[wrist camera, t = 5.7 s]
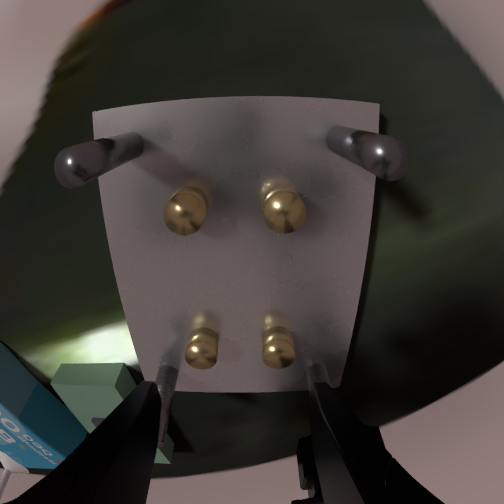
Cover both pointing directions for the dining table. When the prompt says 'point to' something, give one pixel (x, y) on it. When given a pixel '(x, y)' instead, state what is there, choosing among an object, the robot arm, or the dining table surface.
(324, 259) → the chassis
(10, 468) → the champagne flute
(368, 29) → the dining table surface
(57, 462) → the data package
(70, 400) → the board
